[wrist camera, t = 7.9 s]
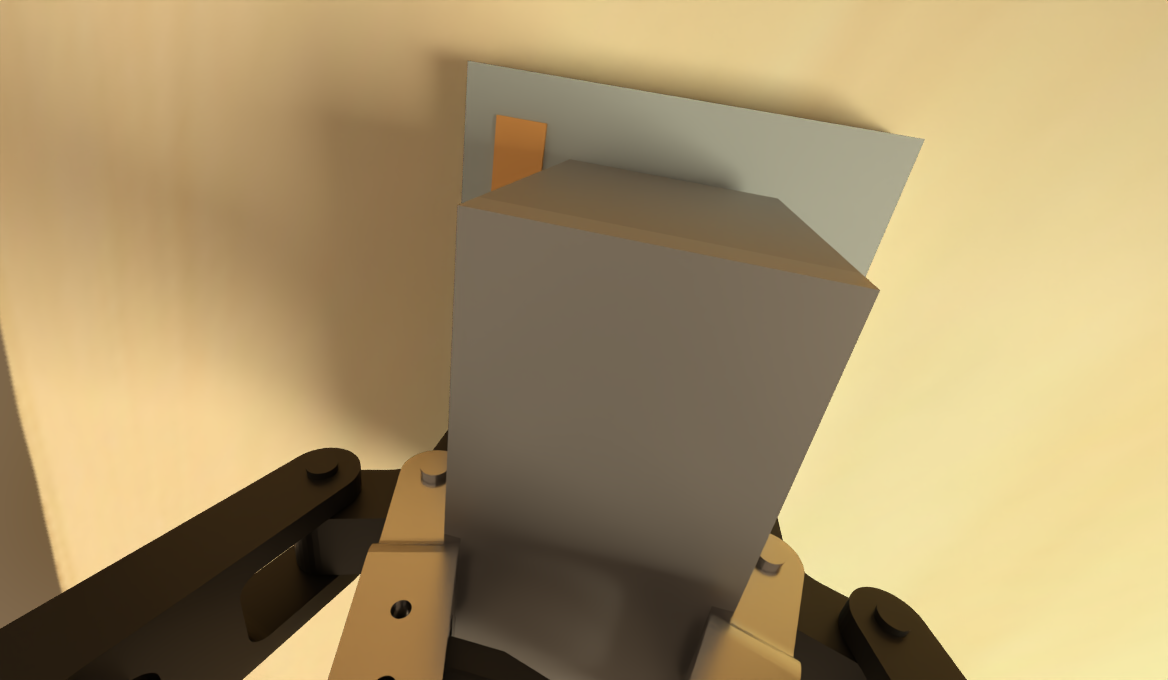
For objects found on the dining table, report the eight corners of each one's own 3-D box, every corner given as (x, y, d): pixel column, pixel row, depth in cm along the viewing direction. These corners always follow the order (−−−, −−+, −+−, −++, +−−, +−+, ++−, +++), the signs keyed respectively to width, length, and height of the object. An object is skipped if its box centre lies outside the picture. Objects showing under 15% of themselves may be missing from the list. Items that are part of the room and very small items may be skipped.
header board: (896, 136, 12) (1076, 155, 6) (712, 587, 19) (725, 776, 13) (490, 66, 12) (350, 31, 7) (461, 521, 20) (380, 672, 14)
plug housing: (778, 198, 11) (879, 290, 5) (650, 592, 16) (633, 836, 11) (569, 159, 11) (457, 204, 6) (515, 556, 17) (434, 772, 11)
